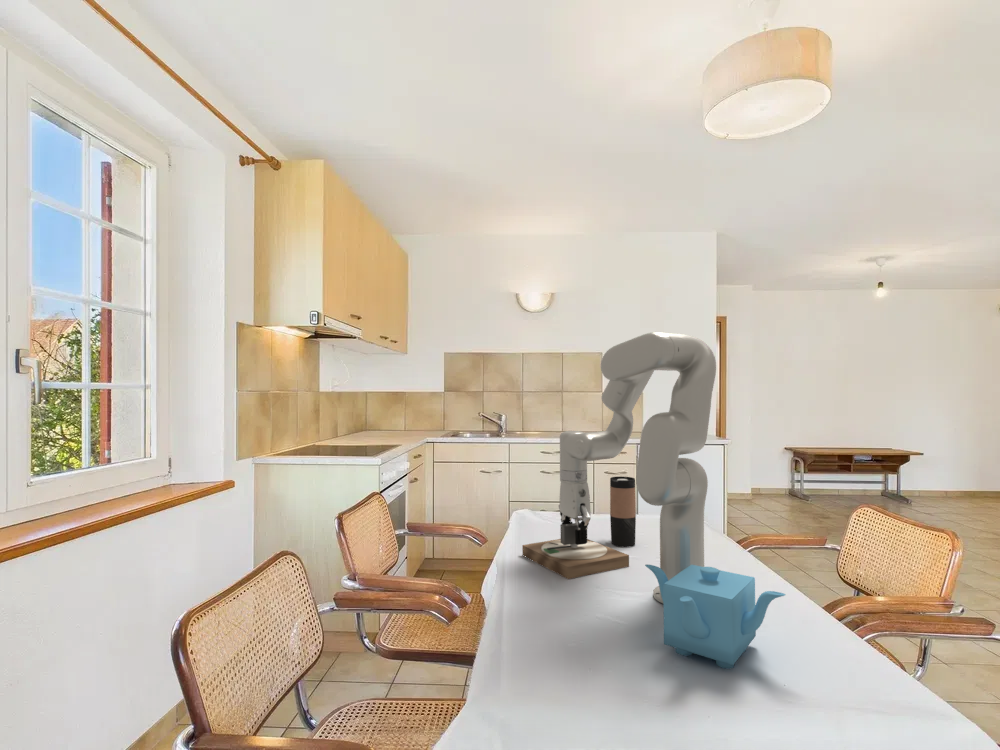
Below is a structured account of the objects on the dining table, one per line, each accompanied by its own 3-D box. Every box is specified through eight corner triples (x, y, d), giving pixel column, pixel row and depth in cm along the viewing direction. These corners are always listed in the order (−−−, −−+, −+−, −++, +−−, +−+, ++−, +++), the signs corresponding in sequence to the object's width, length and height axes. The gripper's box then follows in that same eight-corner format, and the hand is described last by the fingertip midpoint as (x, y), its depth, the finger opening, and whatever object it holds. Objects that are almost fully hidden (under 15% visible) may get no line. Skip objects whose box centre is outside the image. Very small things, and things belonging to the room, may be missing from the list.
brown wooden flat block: (629, 566, 145) (628, 553, 145) (568, 579, 136) (567, 564, 136) (579, 545, 165) (578, 533, 165) (522, 555, 155) (522, 543, 155)
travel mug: (634, 540, 170) (633, 476, 170) (637, 547, 162) (637, 480, 163) (609, 540, 171) (608, 476, 171) (611, 547, 163) (611, 480, 164)
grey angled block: (583, 544, 152) (583, 522, 153) (587, 547, 150) (587, 524, 150) (545, 548, 149) (545, 525, 149) (549, 551, 146) (549, 528, 147)
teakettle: (731, 626, 109) (730, 552, 109) (791, 674, 90) (789, 585, 91) (640, 631, 107) (639, 555, 107) (682, 681, 88) (681, 590, 89)
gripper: (601, 479, 144) (602, 547, 143) (570, 470, 160) (571, 531, 160) (576, 481, 141) (577, 550, 141) (547, 472, 157) (547, 533, 157)
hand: (573, 539), depth 150 cm, fingers open, 7 cm apart
